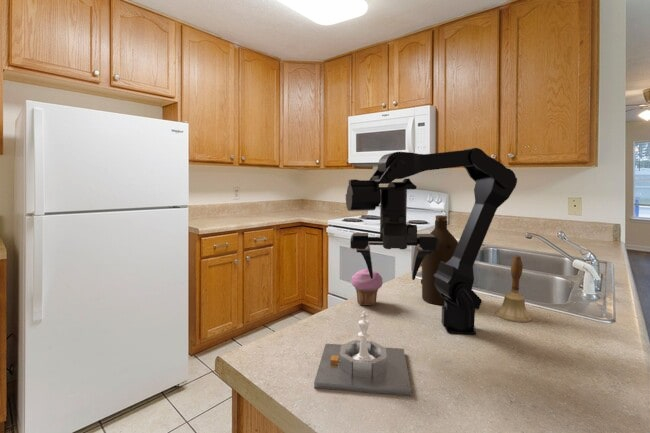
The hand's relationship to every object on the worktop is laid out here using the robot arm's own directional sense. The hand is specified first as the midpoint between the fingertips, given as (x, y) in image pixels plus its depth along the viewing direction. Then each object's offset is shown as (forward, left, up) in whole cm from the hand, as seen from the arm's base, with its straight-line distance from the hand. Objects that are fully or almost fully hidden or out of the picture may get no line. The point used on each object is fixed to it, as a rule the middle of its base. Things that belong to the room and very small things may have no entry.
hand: (392, 278), depth 77 cm
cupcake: (+6, -19, -13) cm, 24 cm away
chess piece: (+6, +16, -12) cm, 21 cm away
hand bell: (-32, -15, -13) cm, 38 cm away
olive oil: (-15, -25, -13) cm, 32 cm away
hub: (+6, +16, -13) cm, 21 cm away
